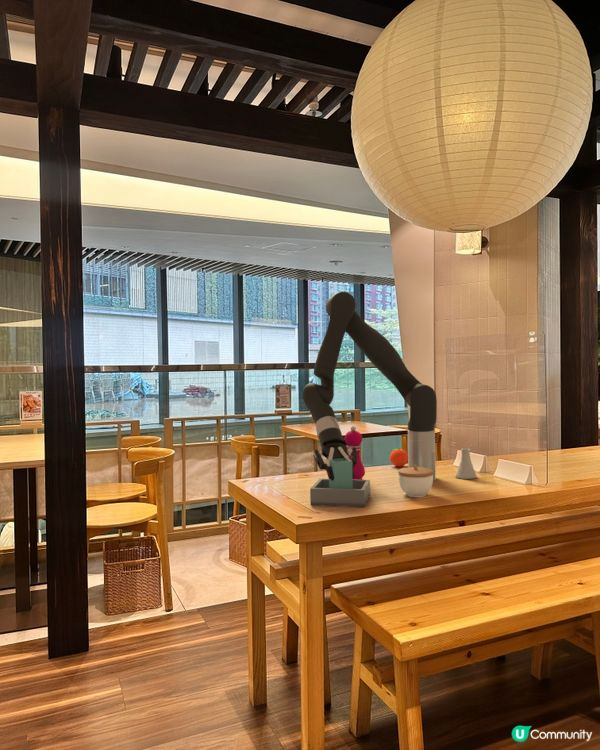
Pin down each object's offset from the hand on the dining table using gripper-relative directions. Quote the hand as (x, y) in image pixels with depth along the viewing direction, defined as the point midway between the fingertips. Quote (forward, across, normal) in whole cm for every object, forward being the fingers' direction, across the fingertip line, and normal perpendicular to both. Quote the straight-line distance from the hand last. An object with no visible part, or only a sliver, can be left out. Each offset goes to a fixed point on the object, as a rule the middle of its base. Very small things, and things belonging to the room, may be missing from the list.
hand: (342, 478), depth 180 cm
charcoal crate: (+4, 0, +6) cm, 7 cm away
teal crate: (+2, 0, +5) cm, 5 cm away
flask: (-6, +52, +17) cm, 55 cm away
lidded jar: (+5, +24, +5) cm, 25 cm away
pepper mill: (-9, +11, +19) cm, 24 cm away
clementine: (-25, +38, +36) cm, 58 cm away
